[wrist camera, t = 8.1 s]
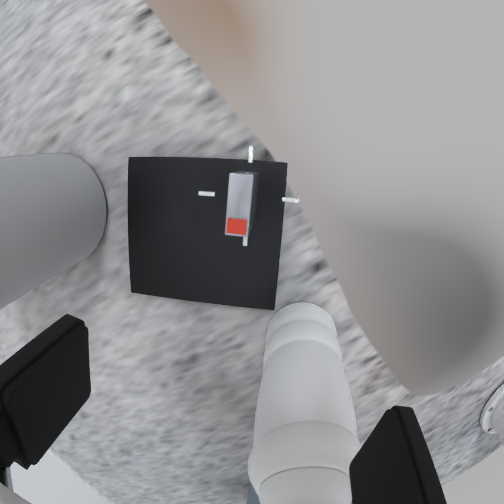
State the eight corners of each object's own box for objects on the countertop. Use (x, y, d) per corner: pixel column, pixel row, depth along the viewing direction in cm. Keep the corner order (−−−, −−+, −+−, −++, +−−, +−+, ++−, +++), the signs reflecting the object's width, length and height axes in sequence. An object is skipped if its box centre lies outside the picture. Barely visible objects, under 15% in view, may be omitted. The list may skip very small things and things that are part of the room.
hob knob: (240, 170, 26) (228, 172, 21) (260, 172, 26) (253, 175, 21) (236, 220, 27) (223, 235, 22) (255, 222, 27) (247, 238, 22)
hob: (301, 151, 28) (303, 149, 25) (287, 298, 32) (287, 312, 29) (142, 144, 29) (128, 143, 26) (142, 281, 33) (130, 293, 30)
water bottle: (343, 308, 32) (409, 546, 8) (322, 363, 34) (341, 585, 10) (276, 292, 32) (247, 545, 8) (260, 350, 34) (219, 578, 10)
